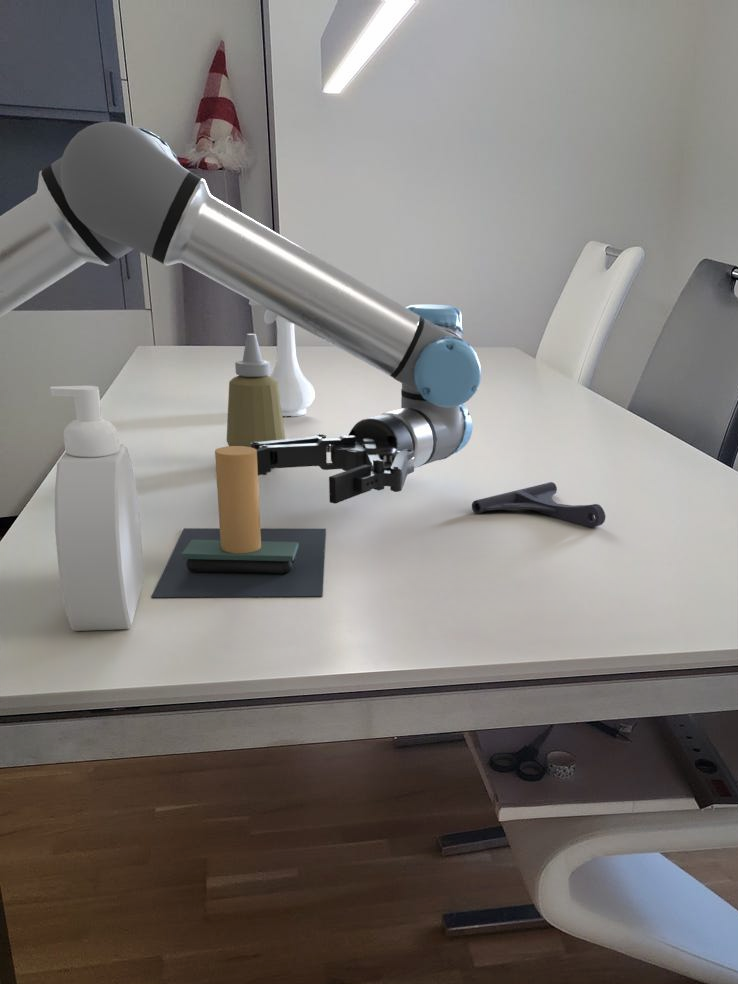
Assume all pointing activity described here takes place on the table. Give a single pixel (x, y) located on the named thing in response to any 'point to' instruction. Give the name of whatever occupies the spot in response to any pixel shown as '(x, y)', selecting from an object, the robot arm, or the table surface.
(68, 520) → the soap bottle
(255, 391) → the squeeze bottle
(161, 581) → the wipe mat
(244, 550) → the wiper
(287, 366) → the flower vase
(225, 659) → the table surface
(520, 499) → the bracket
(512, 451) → the table surface
